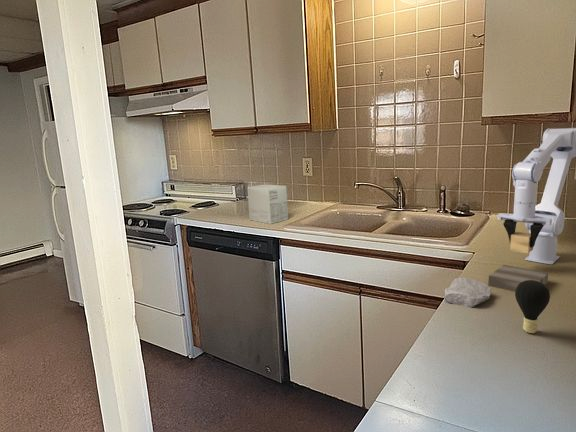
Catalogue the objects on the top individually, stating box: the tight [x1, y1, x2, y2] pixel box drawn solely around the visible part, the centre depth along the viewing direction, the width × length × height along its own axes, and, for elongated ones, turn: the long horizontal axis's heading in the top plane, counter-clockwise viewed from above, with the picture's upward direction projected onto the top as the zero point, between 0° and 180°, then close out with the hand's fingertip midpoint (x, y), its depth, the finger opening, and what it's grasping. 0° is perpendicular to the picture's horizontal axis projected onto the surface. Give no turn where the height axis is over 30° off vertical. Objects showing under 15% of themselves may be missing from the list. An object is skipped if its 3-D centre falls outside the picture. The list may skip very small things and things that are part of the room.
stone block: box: [444, 277, 492, 308], centre depth 113 cm, size 12×5×10 cm
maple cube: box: [509, 231, 533, 254], centre depth 129 cm, size 5×5×5 cm
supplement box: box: [247, 183, 289, 225], centre depth 220 cm, size 17×13×18 cm
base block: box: [487, 264, 549, 292], centre depth 120 cm, size 12×12×3 cm
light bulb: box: [514, 280, 551, 334], centre depth 93 cm, size 7×7×12 cm
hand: (521, 245), depth 129 cm, fingers closed on maple cube, 5 cm apart
